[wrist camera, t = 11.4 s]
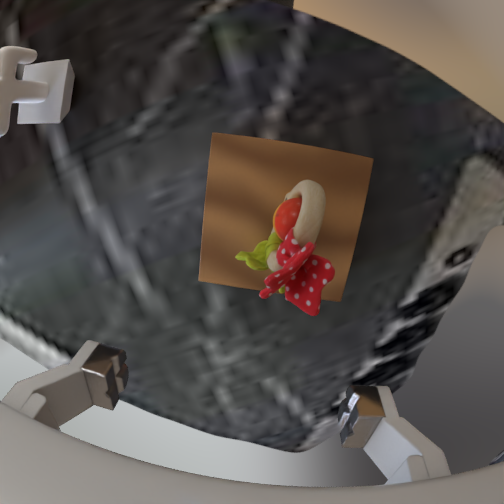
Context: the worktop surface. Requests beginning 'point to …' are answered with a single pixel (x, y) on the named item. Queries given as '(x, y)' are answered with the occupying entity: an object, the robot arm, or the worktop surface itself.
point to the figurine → (34, 88)
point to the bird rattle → (295, 249)
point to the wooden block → (270, 197)
